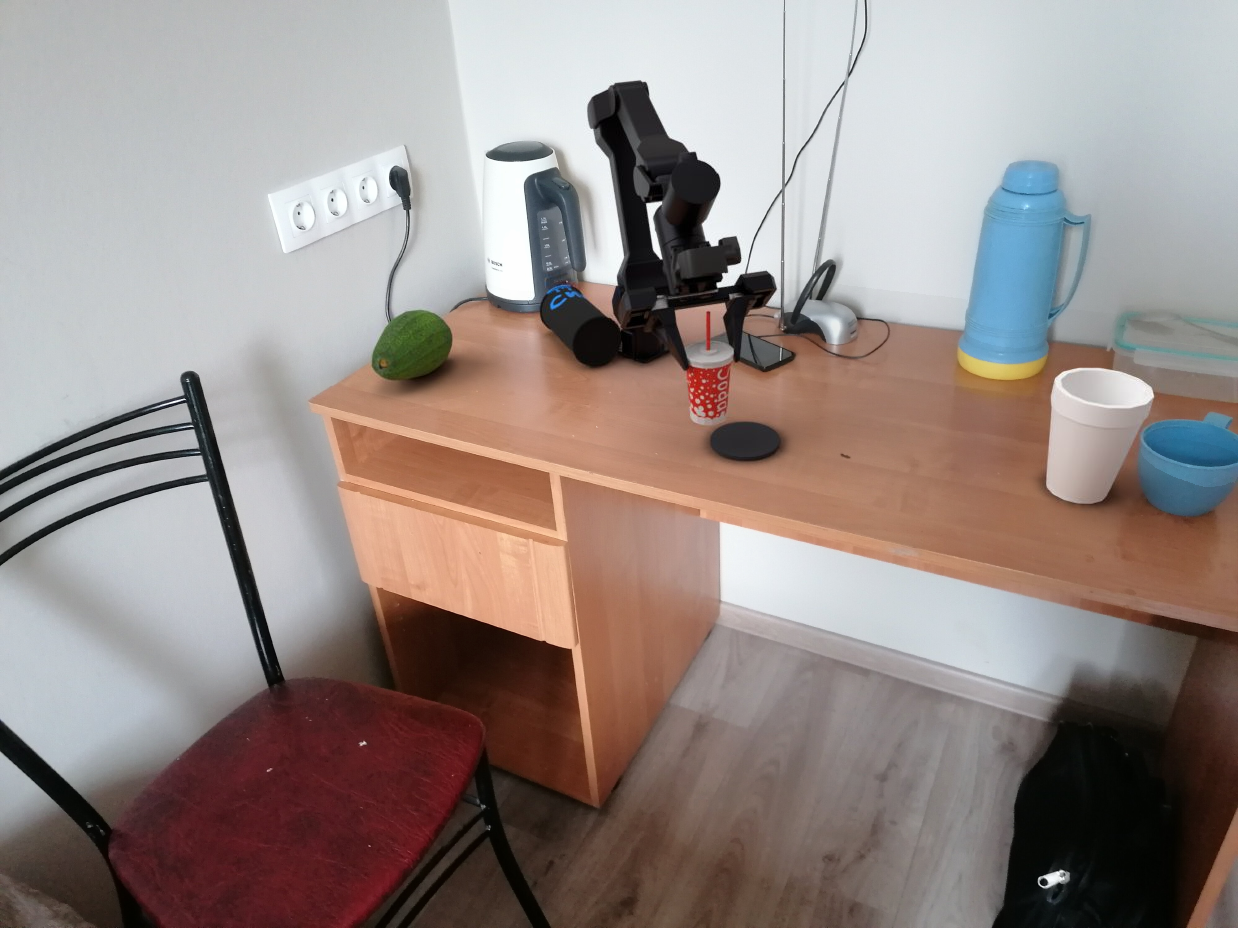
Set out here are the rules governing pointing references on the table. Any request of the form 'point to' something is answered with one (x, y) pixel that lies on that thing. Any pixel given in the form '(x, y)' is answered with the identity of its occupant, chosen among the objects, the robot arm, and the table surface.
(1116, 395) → the foam cup
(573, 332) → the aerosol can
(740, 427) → the coaster
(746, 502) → the table surface
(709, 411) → the beverage cup
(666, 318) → the robot arm
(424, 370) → the fruit
